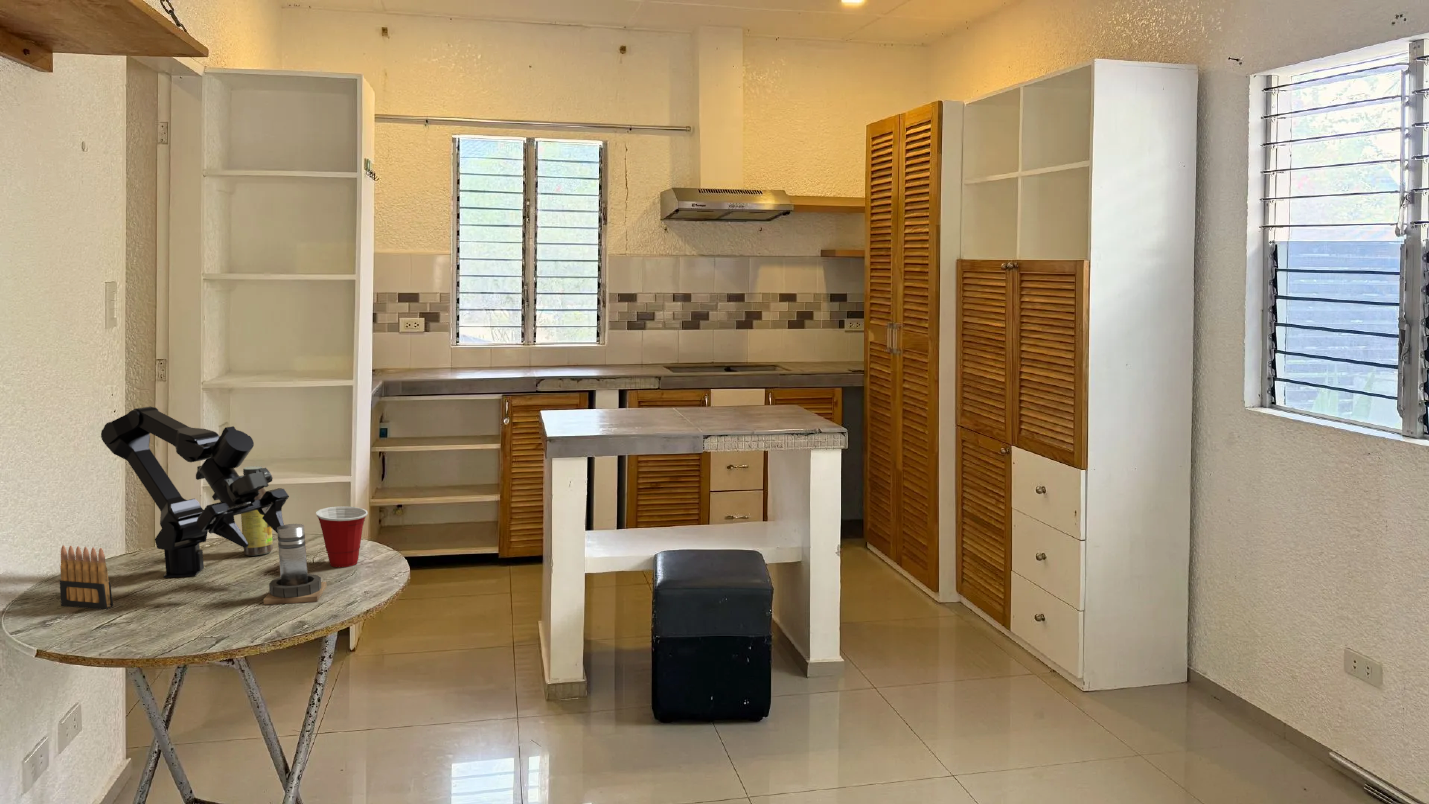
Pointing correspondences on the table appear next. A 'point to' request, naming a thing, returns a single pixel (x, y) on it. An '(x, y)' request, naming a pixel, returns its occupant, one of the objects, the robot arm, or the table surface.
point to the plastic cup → (342, 533)
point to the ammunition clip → (84, 579)
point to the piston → (292, 554)
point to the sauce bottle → (256, 526)
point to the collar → (295, 591)
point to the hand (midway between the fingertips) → (265, 541)
